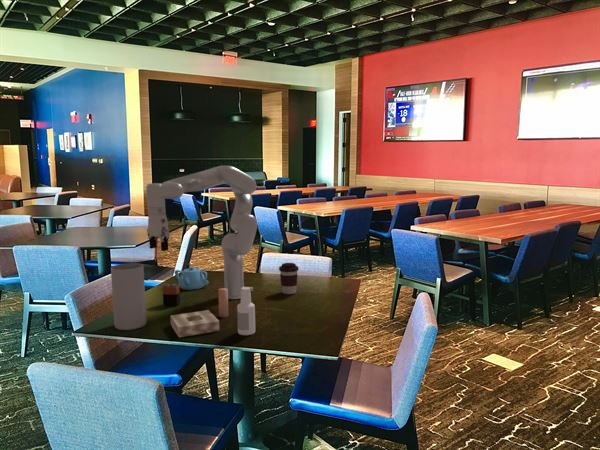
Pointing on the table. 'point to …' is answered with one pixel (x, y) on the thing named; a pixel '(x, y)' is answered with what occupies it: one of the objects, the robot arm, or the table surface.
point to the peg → (223, 302)
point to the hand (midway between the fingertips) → (158, 249)
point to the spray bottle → (246, 313)
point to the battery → (171, 295)
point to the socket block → (194, 323)
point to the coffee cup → (288, 277)
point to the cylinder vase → (128, 296)
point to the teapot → (191, 278)
